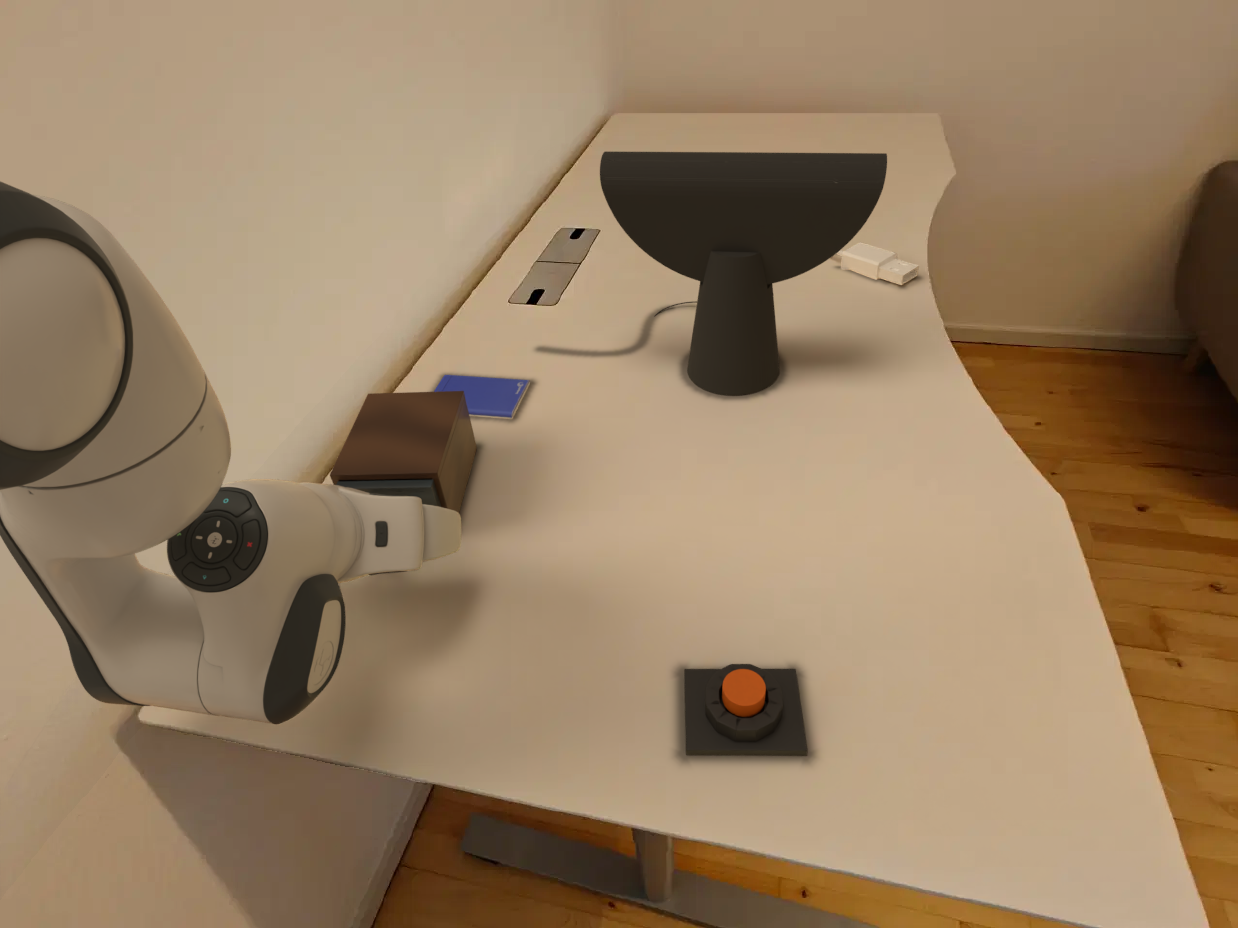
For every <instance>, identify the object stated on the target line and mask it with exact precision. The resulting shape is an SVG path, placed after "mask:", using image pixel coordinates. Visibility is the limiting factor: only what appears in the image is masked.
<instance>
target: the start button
mask: <svg viewBox="0 0 1238 928" xmlns="http://www.w3.org/2000/svg"><path fill="white" fill-rule="evenodd" d="M765 693H766V686H765V682H764V680H763V679H762V678H761V676H760V675H758V674H757V673H756V672H754V671H751V670H748V669H738V670H734V671H732V672H730V673H729V674H728V675H727V676H726V677H725V679H724V681H723V687H722V700H723V704H724V706H725V707H726V709H727V710H728V711H729V712H731V713H732V714H734V715H736V716H739V717H751V716H754V715H756V714H757V713H759V712H760V711H761V710H762V708H763V706H764V703H765Z"/></svg>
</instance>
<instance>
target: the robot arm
mask: <svg viewBox="0 0 1238 928" xmlns="http://www.w3.org/2000/svg"><path fill="white" fill-rule="evenodd" d="M138 265H139V264H137V262H135V260H134V259H133V258H132V256H131V255H130V254H129V253H128V252H127V250H126V249H125V247H124V246H123V245H122V244H121V243H120V242H119V240H118V239H117V238H116V237H115V236H114V234H113V233H112V232H111V231H110V230H109V229H108V227H106V226H105V225H104V224H103V223H102V222H100V221H99V220H98V219H97V218H95V217H94V216H92V215H91V214H89V213H88V212H86V211H85V210H82V209H80V208H79V207H77V206H75V205H73V204H70V203H67V202H64V201H62V200H59V199H56V198H52V197H48V196H43V195H38V194H31V193H30V192H27V191H25V190H22V189H20V188H17V187H15V186H12V185H11V184H7V183H5V182H3V181H1V180H0V537H1V539H2V541H3V543H4V545H5V546H6V549H8V552H9V553H10V554H11V556H12V558H13V559H14V560H15V562H16V564H17V565H18V566H19V567H18V568H20V570H21V571H22V572H23V574H24V575H25V577H26V578H27V580H28V581H29V583H30V584H31V586H32V587H33V589H34V590H35V592H36V593H37V594H38V596H39V597H40V599H41V600H42V602H43V603H44V604H45V607H46V608H47V609H48V610H49V612H50V614H51V615H52V616H53V618H54V620H55V621H56V623H57V625H58V626H59V628H60V630H61V632H62V634H63V636H64V638H65V640H66V644H67V646H68V651H69V655H70V659H71V663H72V667H73V669H74V671H75V674H76V676H77V678H78V680H79V682H80V684H81V686H82V687H83V689H84V690H85V691H86V693H88V695H89V696H91V697H92V698H93V699H95V700H96V701H98V702H101V703H104V704H111V705H125V706H137V707H156V708H162V709H163V708H164V709H169V710H177V711H183V712H189V713H195V714H202V715H208V716H216V717H226V718H230V719H231V718H232V719H237V720H244V721H245V720H246V721H251V722H259V723H267V724H272V725H280V724H283V723H286V722H287V721H289V720H291V719H293V718H295V717H296V716H298V715H299V714H300V713H301V712H302V711H304V710H305V709H306V708H307V707H308V706H309V705H311V704H312V703H313V701H314V700H315V699H316V698H317V697H318V696H319V695H320V694H322V692H323V691H324V690H325V688H327V686H328V684H329V683H330V682H331V680H332V678H333V677H334V675H335V673H336V671H337V669H338V666H339V663H340V660H341V656H342V652H343V648H344V647H343V646H344V642H345V635H346V604H345V601H344V600H345V599H344V596H343V594H342V590H341V586H340V585H339V584H342V583H348V582H352V581H355V580H358V579H361V578H364V577H367V576H374V575H383V574H394V573H405V572H412V571H418V570H420V569H421V568H422V566H423V562H428V561H433V560H437V559H441V558H444V557H447V556H451V555H452V554H455V553H457V552H458V551H459V550H460V549H461V547H462V534H463V533H462V531H463V530H462V518H461V517H462V516H461V514H460V512H459V513H458V512H456V511H454V510H450V509H447V508H443V507H438V506H433V505H425V504H422V500H421V498H419V497H414V496H405V495H383V494H376V493H367V492H364V491H360V490H357V489H353V488H348V487H343V486H339V485H334V484H331V483H330V484H329V483H318V482H308V481H307V482H306V481H304V482H303V481H302V482H296V481H293V480H292V481H291V480H286V479H276V478H275V479H273V478H252V479H251V478H250V479H242V480H236V481H235V480H234V481H231V482H226V483H225V482H224V481H225V478H226V476H227V473H228V469H229V465H230V463H231V458H232V457H231V456H232V442H231V434H230V429H229V425H228V421H227V417H226V415H225V411H224V408H223V407H222V404H221V401H220V400H219V398H218V395H217V393H216V390H215V389H214V387H213V385H212V384H211V381H210V379H209V377H208V375H207V373H206V372H205V370H204V368H203V365H202V364H201V362H200V360H199V357H198V355H197V354H196V352H195V350H194V349H193V347H192V345H191V343H190V341H189V339H188V338H187V336H186V334H185V332H184V331H183V329H182V328H181V326H180V324H179V323H178V321H177V319H176V317H175V316H174V314H173V313H172V312H171V310H170V309H169V307H168V305H167V304H166V302H165V301H164V299H162V296H161V295H160V294H159V292H158V291H157V290H156V288H155V287H154V285H153V284H152V282H151V281H150V280H149V279H148V278H147V276H146V275H145V273H144V272H143V270H142V269H141V268H140V266H138ZM164 542H166V557H167V562H168V566H169V567H170V569H171V573H173V575H171V574H168V573H165V572H160V571H156V570H153V569H150V568H148V567H146V566H144V565H142V564H141V563H140V561H139V559H138V557H137V555H136V554H138V553H141V552H144V551H146V550H149V549H152V548H154V547H156V546H158V545H160V544H162V543H164Z"/></svg>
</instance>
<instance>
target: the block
mask: <svg viewBox="0 0 1238 928" xmlns="http://www.w3.org/2000/svg"><path fill="white" fill-rule="evenodd" d="M738 669H748V670H751V671H754V672H756V673H757V674H758V675H760V676H761V678H762V679H763V680H764V682H765V686H766V693H765V703H764V706H763V708H762V710H761V711H760V712H759V713H757V714H756V715H754V716H751V717H739V716H736V715H734V714H732V713H731V712H729V711H728V710H727V709H726V707H725V706H724V704H723V700H722V687H723V681H724V679H725V677H726V676H727V675H728V674H729V673H730V672H732V671H734V670H738ZM797 675H798V674H797V669H796V668H761V667H758V666H757V665H754V664H751V663H730V664H728V665H726V666H724V667H722V668H684V669H683V678H684V679H683V683H684V726H685V727H684V728H685V755H686V756H750V757H751V756H759V757H760V756H763V757H764V756H766V757H768V756H771V757H773V756H774V757H777V756H778V757H780V756H781V757H783V756H784V757H803V756H804V757H806V756H807V755H808V744H807V738H806V730H805V723H804V718H803V717H804V716H803V709H802V702H801V696H800V689H799V681H798V676H797Z"/></svg>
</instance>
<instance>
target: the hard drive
mask: <svg viewBox="0 0 1238 928" xmlns="http://www.w3.org/2000/svg"><path fill="white" fill-rule="evenodd" d="M530 384H531V380H530V379H520V378H519V379H518V378H505V377H490V376H489V377H488V376H474V375H473V376H472V375H458V374H444V375H443V376H442V378H441V380H440V381H439V383H438V384H437V385H436V386H435V389H434V390H433V392H441V391H464V395H465V399H466V403H467V408H468V412H469V416H470V417H481V418H492V419H493V418H494V419H506V420H513V419H514V418H515V417H514V416H515V415H516V413H517V410H518V409H519V407H520V405H521V403H522V401H523V400H524V399H523V398H524V397H525V395H526V392H527V391H528V389H529V387H530Z"/></svg>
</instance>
